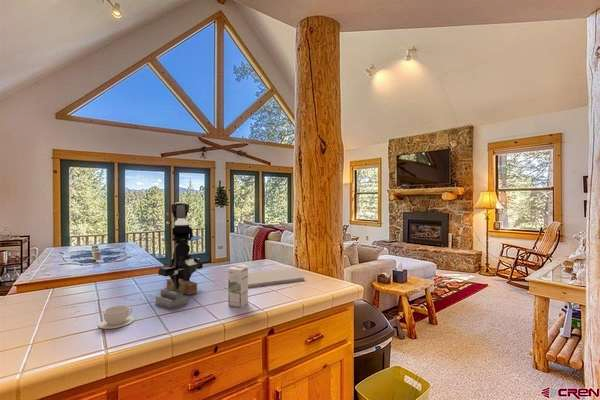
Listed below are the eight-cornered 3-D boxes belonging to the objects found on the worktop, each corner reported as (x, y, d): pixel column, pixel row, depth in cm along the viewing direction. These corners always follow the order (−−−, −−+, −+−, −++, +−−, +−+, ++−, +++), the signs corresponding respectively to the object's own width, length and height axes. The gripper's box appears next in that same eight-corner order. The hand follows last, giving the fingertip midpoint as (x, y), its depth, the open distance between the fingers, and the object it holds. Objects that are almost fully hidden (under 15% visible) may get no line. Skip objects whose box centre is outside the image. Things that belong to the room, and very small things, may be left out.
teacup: (107, 333, 91) (107, 317, 91) (92, 325, 97) (92, 311, 97) (140, 321, 100) (140, 307, 100) (124, 315, 105) (124, 302, 105)
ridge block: (155, 304, 116) (155, 291, 116) (172, 298, 122) (172, 286, 122) (170, 309, 110) (170, 295, 110) (187, 303, 116) (187, 290, 116)
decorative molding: (303, 285, 151) (295, 276, 159) (304, 277, 150) (296, 267, 158) (236, 295, 136) (231, 283, 145) (236, 285, 135) (231, 274, 143)
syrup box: (248, 302, 117) (248, 266, 117) (240, 308, 112) (240, 269, 112) (235, 301, 119) (235, 265, 119) (227, 306, 114) (227, 268, 114)
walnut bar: (166, 288, 135) (166, 279, 135) (174, 286, 138) (174, 277, 138) (188, 294, 126) (188, 285, 126) (196, 292, 129) (196, 283, 129)
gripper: (173, 257, 120) (173, 296, 120) (210, 251, 135) (210, 285, 135) (157, 254, 126) (157, 291, 126) (195, 248, 141) (195, 281, 142)
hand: (181, 287), depth 132 cm, fingers closed on walnut bar, 4 cm apart
